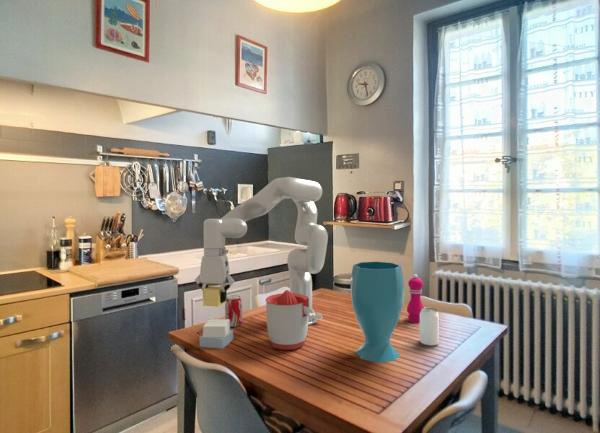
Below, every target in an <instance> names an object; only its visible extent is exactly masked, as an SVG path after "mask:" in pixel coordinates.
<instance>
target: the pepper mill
mask: <svg viewBox="0 0 600 433" xmlns="http://www.w3.org/2000/svg"><path fill="white" fill-rule="evenodd" d="M412 276H413V277H412V278H410V279H409V280H408V283H407V284H408V285H407V286H408V287H409V291H408V292H409V293H410V299H409V302H408V304H407V307H406V312H407V313H408V316H407V320H408V321H409V322H411V323H420V312H421V309H422V308H425V307H424V305H423V302H422V299H421V295H422V292H423V290H422V288H423V286H424V282H423V280H422V279H421V278H420V277H419V276H418V274H416V273H415V274H413V275H412Z"/></svg>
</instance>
